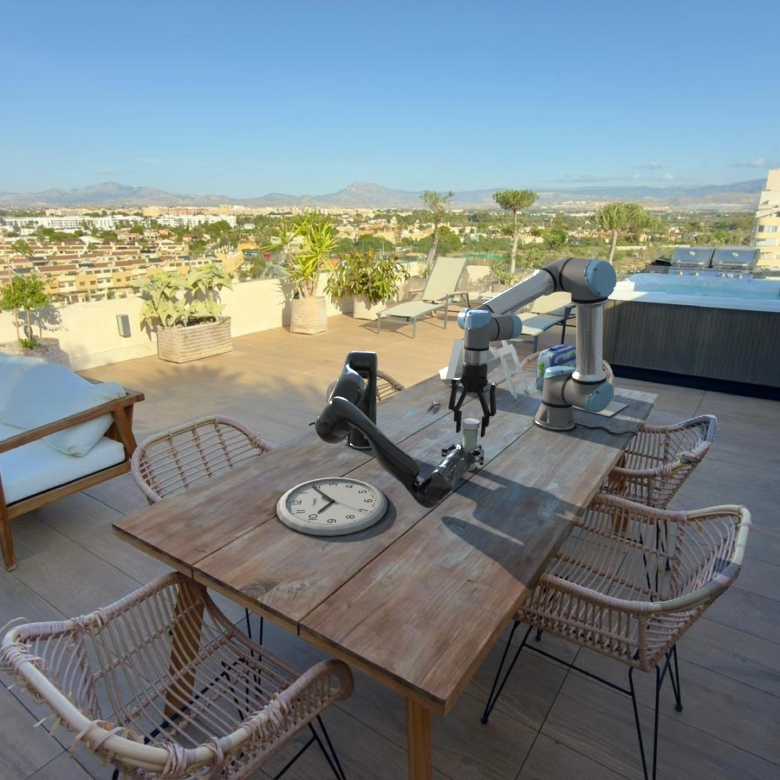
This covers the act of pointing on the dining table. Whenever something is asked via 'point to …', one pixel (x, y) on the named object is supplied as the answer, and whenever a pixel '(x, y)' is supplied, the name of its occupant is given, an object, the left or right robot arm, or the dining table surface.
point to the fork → (434, 403)
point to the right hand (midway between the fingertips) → (470, 433)
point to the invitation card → (609, 408)
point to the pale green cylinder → (470, 442)
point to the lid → (471, 424)
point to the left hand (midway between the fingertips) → (471, 445)
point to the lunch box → (554, 361)
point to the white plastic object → (493, 362)
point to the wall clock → (331, 506)
